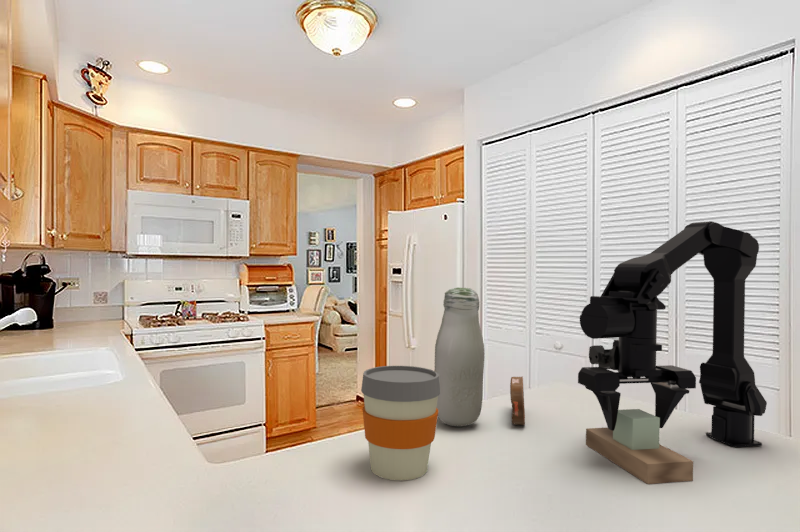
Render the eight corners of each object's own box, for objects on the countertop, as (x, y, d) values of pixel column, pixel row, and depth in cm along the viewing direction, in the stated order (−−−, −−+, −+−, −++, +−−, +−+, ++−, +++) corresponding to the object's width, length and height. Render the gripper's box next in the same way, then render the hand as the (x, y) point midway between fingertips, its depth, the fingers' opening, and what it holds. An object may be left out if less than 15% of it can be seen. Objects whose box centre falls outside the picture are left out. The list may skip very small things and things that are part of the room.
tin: (525, 431, 94) (525, 388, 94) (508, 429, 95) (509, 387, 95) (524, 409, 109) (525, 373, 109) (510, 408, 110) (511, 372, 110)
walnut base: (624, 442, 89) (624, 426, 89) (692, 480, 73) (693, 461, 73) (585, 444, 87) (586, 428, 87) (647, 484, 72) (647, 464, 72)
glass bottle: (442, 434, 91) (446, 288, 91) (427, 417, 101) (430, 286, 101) (490, 431, 93) (493, 289, 93) (470, 415, 103) (473, 286, 103)
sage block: (638, 437, 83) (638, 408, 83) (659, 448, 78) (659, 417, 78) (612, 438, 82) (613, 410, 82) (632, 449, 77) (632, 419, 77)
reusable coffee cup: (425, 492, 67) (427, 386, 67) (345, 477, 72) (347, 377, 72) (447, 459, 79) (449, 369, 79) (377, 448, 83) (379, 362, 84)
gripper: (651, 329, 90) (650, 412, 90) (561, 330, 86) (559, 416, 86) (699, 338, 79) (697, 432, 79) (598, 339, 76) (596, 437, 75)
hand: (635, 428), depth 80 cm, fingers open, 9 cm apart
